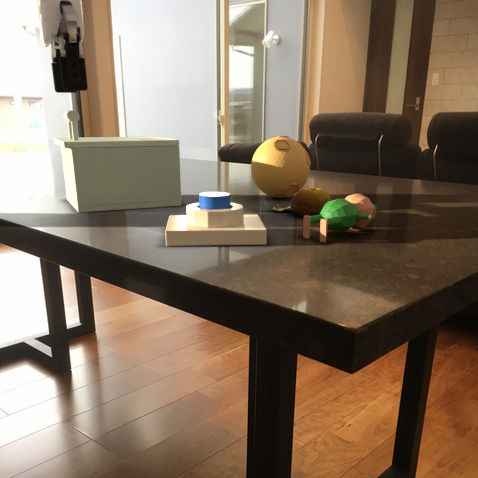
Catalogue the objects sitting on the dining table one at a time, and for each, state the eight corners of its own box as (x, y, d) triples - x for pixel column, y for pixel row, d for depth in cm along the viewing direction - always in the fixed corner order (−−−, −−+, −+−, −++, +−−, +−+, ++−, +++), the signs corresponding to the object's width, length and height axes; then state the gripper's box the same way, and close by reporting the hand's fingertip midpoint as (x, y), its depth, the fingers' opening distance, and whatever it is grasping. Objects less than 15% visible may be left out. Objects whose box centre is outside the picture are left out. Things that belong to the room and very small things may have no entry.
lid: (64, 148, 71) (60, 110, 69) (54, 143, 82) (50, 110, 80) (179, 145, 77) (178, 111, 76) (156, 141, 88) (154, 110, 86)
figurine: (292, 236, 62) (354, 222, 69) (338, 245, 57) (400, 229, 64) (292, 198, 60) (356, 187, 67) (340, 204, 55) (403, 192, 62)
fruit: (317, 206, 80) (319, 182, 79) (347, 216, 73) (349, 189, 71) (269, 210, 77) (269, 185, 76) (295, 220, 70) (296, 192, 69)
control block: (165, 246, 56) (164, 213, 55) (169, 228, 65) (168, 200, 63) (266, 244, 57) (267, 212, 56) (257, 227, 65) (258, 199, 64)
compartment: (78, 212, 75) (71, 148, 71) (66, 199, 85) (60, 143, 82) (181, 205, 81) (179, 146, 77) (158, 194, 91) (156, 141, 88)
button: (199, 212, 58) (198, 196, 57) (199, 207, 61) (198, 191, 61) (231, 212, 58) (231, 196, 57) (229, 206, 61) (229, 191, 61)
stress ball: (259, 203, 83) (260, 137, 79) (244, 194, 92) (245, 134, 88) (317, 201, 85) (321, 136, 81) (297, 192, 94) (300, 134, 90)
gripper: (19, -38, 74) (38, 93, 80) (27, -74, 59) (49, 89, 66) (74, -33, 77) (87, 93, 83) (94, -66, 62) (108, 89, 69)
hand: (70, 91), depth 74 cm, fingers open, 9 cm apart
